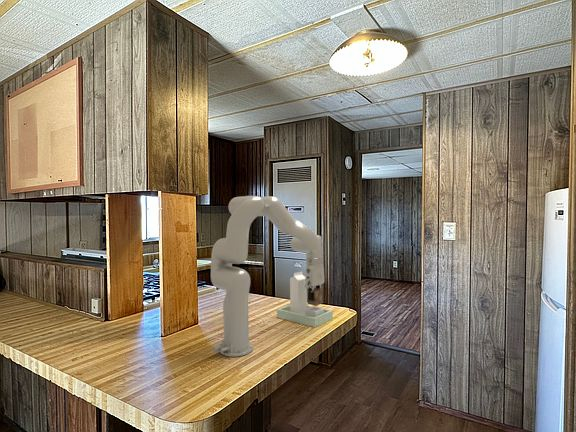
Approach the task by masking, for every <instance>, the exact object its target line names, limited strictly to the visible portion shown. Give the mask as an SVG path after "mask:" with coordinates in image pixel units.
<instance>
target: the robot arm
mask: <svg viewBox="0 0 576 432" xmlns="http://www.w3.org/2000/svg"><path fill="white" fill-rule="evenodd" d="M227 206H228V211H229V214H231V216H230V217H229V219H228V221H227V224H226V225H227V226H226V233H225V234H226V235H225V236H226V237H223V238H219V239H218V240H216V242H215V243H214V244H213V246H212V249H211V255H210V257H211V260H210V281H211V283H212V285H213V286H214V287H215V288H217V289H219V290H222V291H225V295H224V298H223V304H222V311H223V312H222V316H223V317H222V319H223V320H222V322H223V327H222V328H223V339H221V343H219V344H218V345H215V346H213V348H212V350H213V352H214V353H218V352H219V353H220V354H221V355H223V356H226V357H231V358H232V357H236V358H237V357H242V356H246V355H248V354H250V353H251V352H252V351H253V350H254V345H253V343H252V342H250V339H249V338H250V337H249V336H250V335H249V333H250V332H249V329H250V328H249V327H250V325H249V296H250V295H249V294H250V287H251V276H250V274H249V272H248V271H247V270H245V269H243V268H240V267H238V266H233V264H234V265H235V264H236V265H240V264H243V263H244V262H246V260H247V259H248V255H249V254H248V253H249V236H250V235H249V233H250V228H251V225H252V223H253V221H254V220H255V219H256V218H257V217H266V218H268V219H269V221H270V222H271V223H272V224H273V225H274V227H275V228H276V229H277V230H278V231H279V232H281V233H283V234H284V235H287V236H291V237H292V239H291V241H290V243H289V244H290V245H289V246H290V248H291V249H292V250H293V251H295V252H298V253H306V254H305V255H306V256H305V257H306V258H305V260H306V263H305V264H306V265H305V273H304V274H305V275H304V277H305V286H304V287H305V288H306V289H307V292H308V300H311V301H314V292H313V290H314V288H320V289H322V290H323V287H322V286H323V284H324V283H325V267H324V265H323V242H322V241H323V239H322V236H321V235H319V234H317V235H316V234H315V232H314V231H313V229H311V228H310V227H309V226H308V225H306V224H304V223H302V221H299V220H298V219H296V218H295V217H293V215H292V214H291V213H290V212H289V210H288V209H287V207H286V206H285V205H284V204H283V203H282V201H280V199H278V198H277V197H276V196H270V195H268V196H257V195H245V196H243V195H242V196H236V197H233V198H232V199H230V201H229V203H228V205H227ZM308 300H307V301H308Z"/></svg>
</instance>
